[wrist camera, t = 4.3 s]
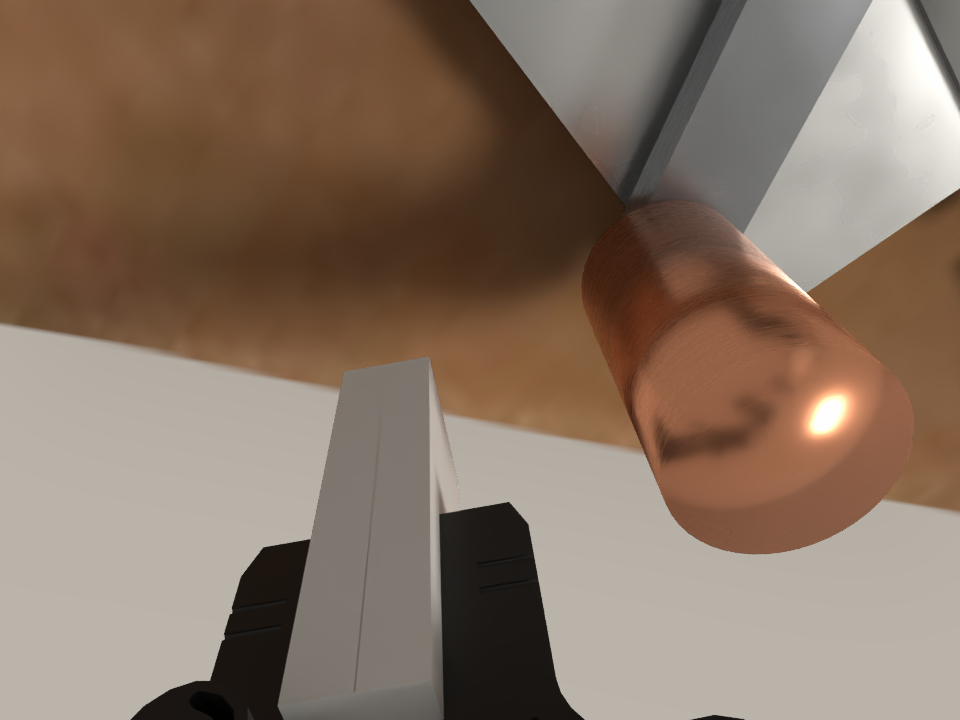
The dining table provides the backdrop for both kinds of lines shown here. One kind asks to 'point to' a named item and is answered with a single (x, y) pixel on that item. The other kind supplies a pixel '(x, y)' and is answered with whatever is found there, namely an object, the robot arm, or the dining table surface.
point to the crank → (742, 305)
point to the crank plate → (818, 147)
